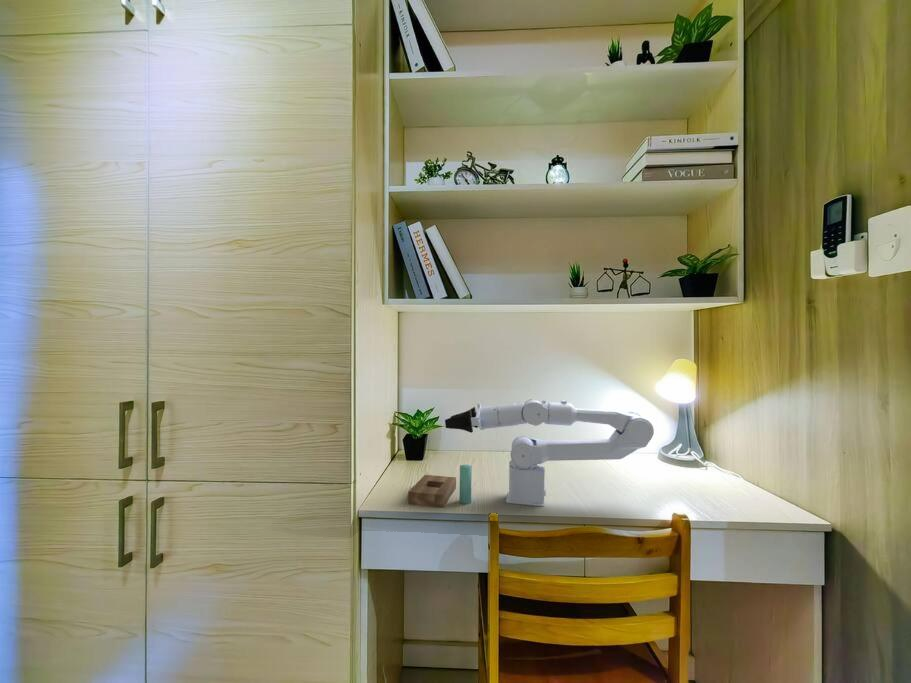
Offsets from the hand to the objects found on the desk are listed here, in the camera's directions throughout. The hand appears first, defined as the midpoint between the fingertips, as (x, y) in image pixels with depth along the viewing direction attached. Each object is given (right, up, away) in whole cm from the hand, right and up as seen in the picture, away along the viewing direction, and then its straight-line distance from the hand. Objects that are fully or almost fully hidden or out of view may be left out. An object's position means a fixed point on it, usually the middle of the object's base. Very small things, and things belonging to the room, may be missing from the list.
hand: (448, 422), depth 113 cm
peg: (+4, -19, -6) cm, 21 cm away
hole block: (-4, -19, -2) cm, 19 cm away
